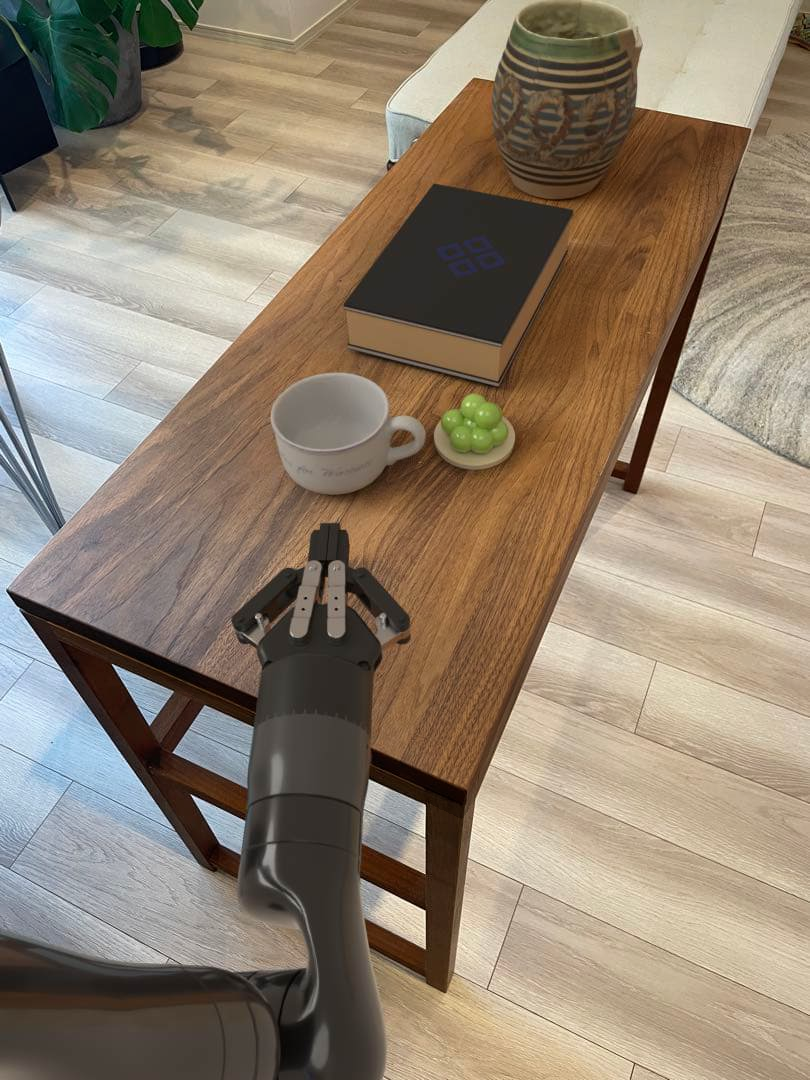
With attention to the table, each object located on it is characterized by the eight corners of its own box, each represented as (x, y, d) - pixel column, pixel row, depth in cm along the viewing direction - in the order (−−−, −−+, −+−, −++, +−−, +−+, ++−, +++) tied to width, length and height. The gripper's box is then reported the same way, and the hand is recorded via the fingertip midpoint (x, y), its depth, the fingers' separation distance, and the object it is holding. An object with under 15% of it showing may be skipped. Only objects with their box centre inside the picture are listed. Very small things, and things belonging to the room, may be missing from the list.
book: (348, 354, 91) (342, 303, 86) (433, 232, 105) (433, 182, 99) (498, 393, 86) (501, 342, 81) (567, 260, 100) (574, 209, 95)
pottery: (466, 194, 110) (470, 29, 94) (520, 134, 119) (533, -26, 103) (592, 227, 104) (619, 57, 88) (640, 161, 113) (672, -4, 97)
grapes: (446, 477, 79) (446, 437, 75) (424, 420, 84) (423, 380, 80) (525, 460, 80) (530, 420, 76) (500, 405, 85) (503, 364, 81)
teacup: (263, 492, 79) (248, 432, 73) (313, 417, 85) (303, 356, 79) (398, 533, 75) (394, 474, 69) (441, 452, 81) (440, 390, 75)
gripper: (414, 718, 50) (417, 496, 60) (194, 717, 50) (235, 497, 60) (417, 767, 55) (418, 557, 66) (220, 766, 56) (253, 558, 66)
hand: (330, 529), depth 63 cm, fingers closed
